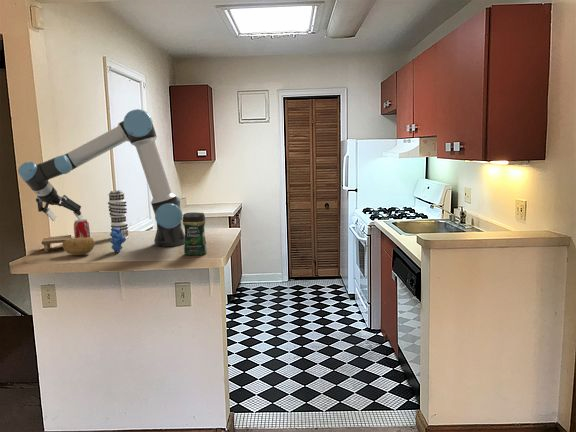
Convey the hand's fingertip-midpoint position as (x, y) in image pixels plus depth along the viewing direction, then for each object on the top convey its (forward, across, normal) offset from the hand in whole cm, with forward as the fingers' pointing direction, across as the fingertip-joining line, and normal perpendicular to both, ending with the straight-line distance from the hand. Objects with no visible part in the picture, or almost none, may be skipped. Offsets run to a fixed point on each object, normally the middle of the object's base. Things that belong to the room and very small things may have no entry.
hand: (67, 218), depth 223 cm
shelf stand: (+10, -6, -11) cm, 16 cm away
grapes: (+5, +29, -16) cm, 33 cm away
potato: (+2, +12, -19) cm, 23 cm away
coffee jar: (+3, +65, -18) cm, 68 cm away
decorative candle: (+28, +13, +7) cm, 32 cm away
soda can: (+18, 0, -3) cm, 18 cm away
